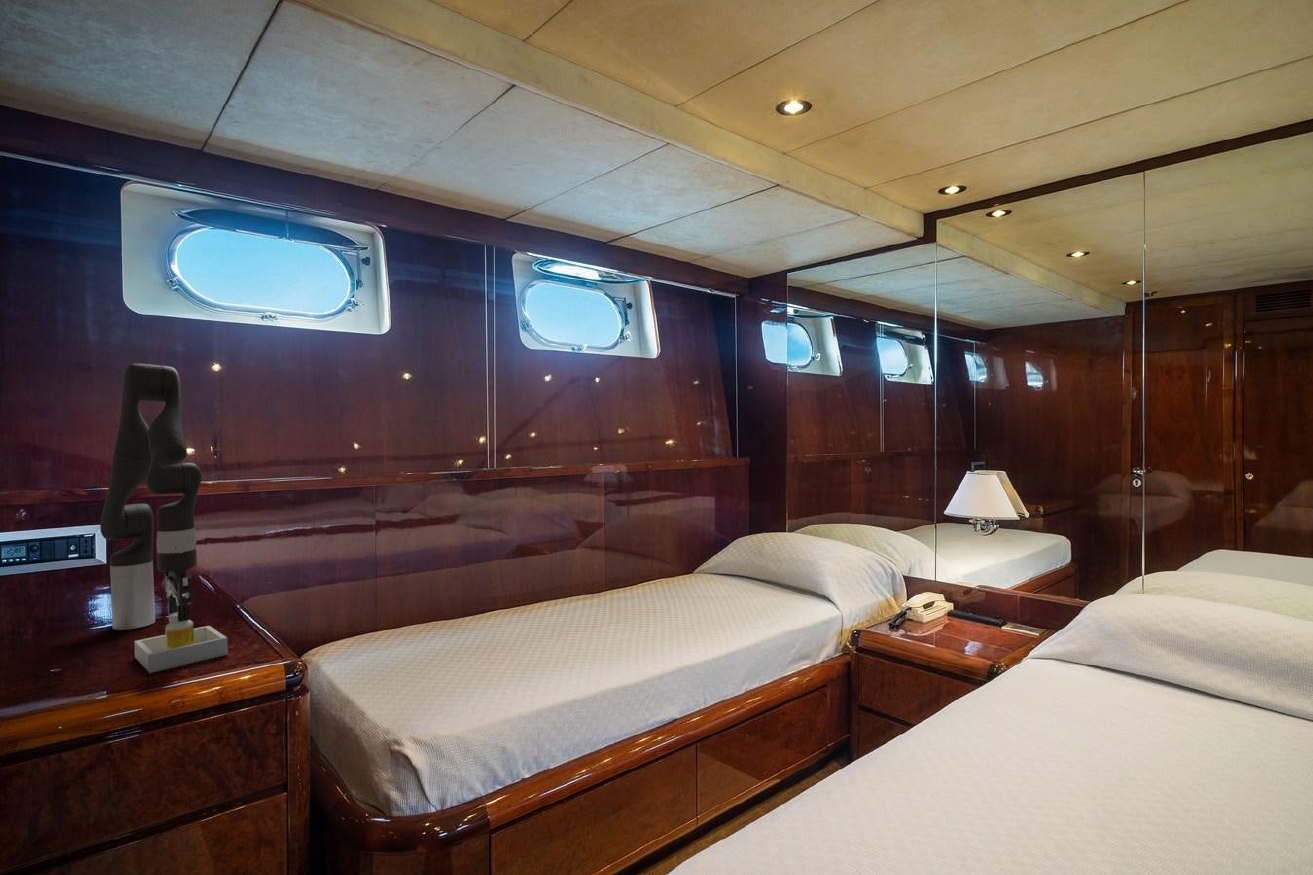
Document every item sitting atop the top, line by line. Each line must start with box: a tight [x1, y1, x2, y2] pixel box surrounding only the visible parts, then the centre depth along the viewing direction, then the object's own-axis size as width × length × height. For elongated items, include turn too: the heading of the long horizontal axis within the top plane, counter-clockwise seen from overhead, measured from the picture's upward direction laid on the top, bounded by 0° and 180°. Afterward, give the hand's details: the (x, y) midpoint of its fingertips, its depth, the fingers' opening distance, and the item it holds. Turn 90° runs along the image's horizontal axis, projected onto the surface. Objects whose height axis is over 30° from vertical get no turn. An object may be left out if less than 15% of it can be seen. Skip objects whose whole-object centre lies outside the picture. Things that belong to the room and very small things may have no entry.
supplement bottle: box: [164, 612, 195, 650], centre depth 157 cm, size 5×5×10 cm
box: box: [134, 625, 229, 674], centre depth 157 cm, size 15×15×4 cm
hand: (179, 617), depth 157 cm, fingers open, 8 cm apart
